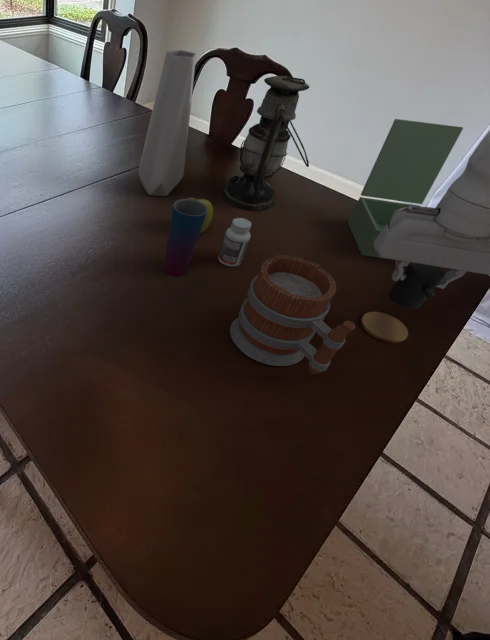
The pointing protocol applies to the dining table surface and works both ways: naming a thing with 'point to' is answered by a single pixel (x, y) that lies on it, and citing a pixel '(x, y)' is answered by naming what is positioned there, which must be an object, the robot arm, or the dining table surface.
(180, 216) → the cup
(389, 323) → the coaster
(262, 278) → the mug
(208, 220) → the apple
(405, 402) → the dining table surface
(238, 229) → the pill bottle
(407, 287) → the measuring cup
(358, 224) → the chest
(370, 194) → the lid
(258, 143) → the lantern
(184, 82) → the vase
